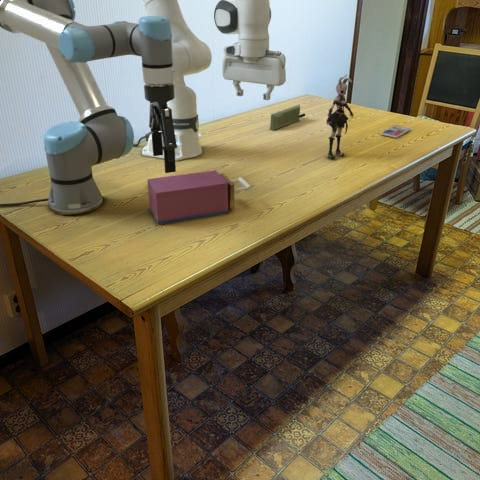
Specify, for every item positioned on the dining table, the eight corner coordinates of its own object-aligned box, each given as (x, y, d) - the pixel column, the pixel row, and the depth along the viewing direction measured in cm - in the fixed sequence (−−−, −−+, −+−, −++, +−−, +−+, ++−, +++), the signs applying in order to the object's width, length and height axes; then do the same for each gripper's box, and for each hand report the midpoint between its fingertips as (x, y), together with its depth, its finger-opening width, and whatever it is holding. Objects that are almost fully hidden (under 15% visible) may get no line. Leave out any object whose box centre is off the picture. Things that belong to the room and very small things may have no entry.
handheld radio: (268, 129, 217) (300, 116, 234) (274, 130, 216) (306, 118, 233) (269, 113, 214) (302, 102, 231) (276, 115, 212) (308, 103, 229)
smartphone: (411, 128, 218) (397, 136, 208) (410, 130, 218) (396, 138, 208) (395, 124, 222) (380, 132, 211) (394, 126, 222) (380, 134, 212)
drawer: (240, 193, 157) (241, 170, 153) (252, 205, 149) (252, 181, 146) (161, 205, 148) (160, 181, 145) (169, 218, 141) (168, 193, 137)
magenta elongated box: (216, 199, 155) (215, 170, 150) (227, 213, 147) (227, 182, 142) (149, 209, 148) (147, 179, 144) (158, 224, 140) (155, 193, 135)
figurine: (327, 162, 183) (336, 77, 168) (315, 158, 187) (322, 74, 172) (352, 153, 191) (362, 71, 177) (339, 149, 195) (348, 69, 181)
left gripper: (187, 93, 119) (190, 177, 129) (161, 73, 139) (166, 147, 149) (155, 96, 116) (161, 181, 126) (134, 74, 136) (140, 150, 147)
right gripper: (290, 50, 143) (288, 99, 150) (230, 45, 153) (231, 91, 159) (280, 53, 138) (278, 104, 145) (218, 47, 148) (219, 95, 155)
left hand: (164, 163), depth 138 cm, fingers open, 13 cm apart
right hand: (253, 97), depth 152 cm, fingers open, 8 cm apart
